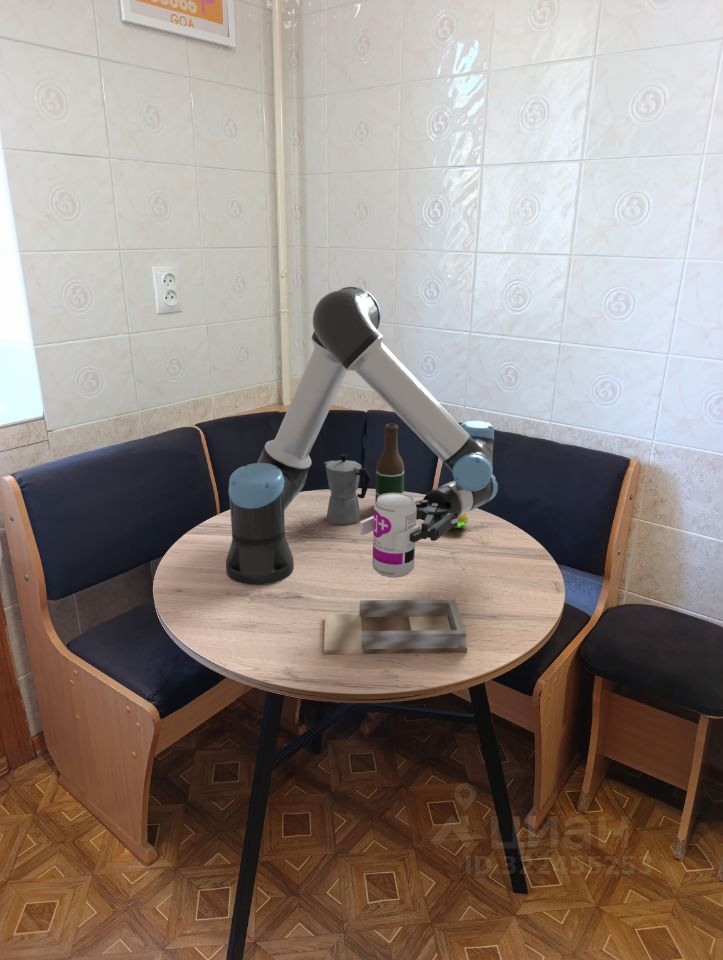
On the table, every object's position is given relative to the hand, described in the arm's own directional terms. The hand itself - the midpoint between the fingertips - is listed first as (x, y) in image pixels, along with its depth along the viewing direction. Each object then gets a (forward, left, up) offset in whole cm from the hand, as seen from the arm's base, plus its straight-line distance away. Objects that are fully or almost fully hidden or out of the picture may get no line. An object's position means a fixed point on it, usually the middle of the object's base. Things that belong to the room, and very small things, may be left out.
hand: (378, 535), depth 125 cm
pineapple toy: (+23, +43, -18) cm, 52 cm away
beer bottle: (+7, +57, -18) cm, 60 cm away
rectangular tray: (+3, -6, -18) cm, 19 cm away
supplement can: (+3, +3, -9) cm, 10 cm away
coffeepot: (-5, +49, -18) cm, 52 cm away
